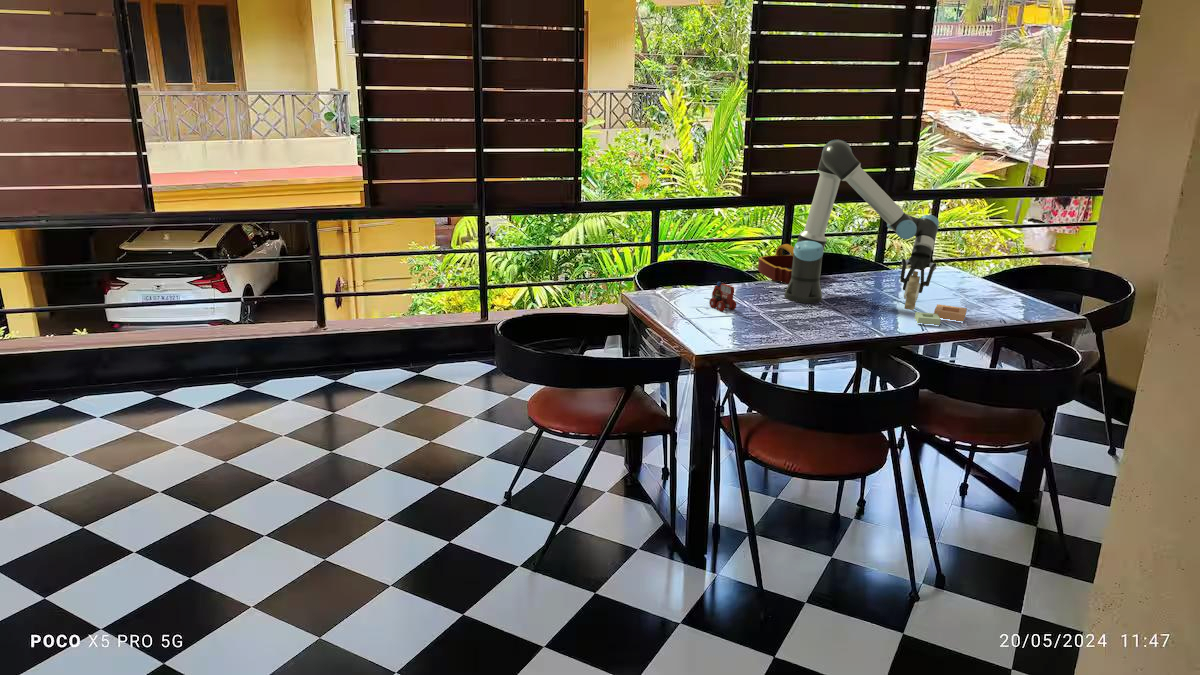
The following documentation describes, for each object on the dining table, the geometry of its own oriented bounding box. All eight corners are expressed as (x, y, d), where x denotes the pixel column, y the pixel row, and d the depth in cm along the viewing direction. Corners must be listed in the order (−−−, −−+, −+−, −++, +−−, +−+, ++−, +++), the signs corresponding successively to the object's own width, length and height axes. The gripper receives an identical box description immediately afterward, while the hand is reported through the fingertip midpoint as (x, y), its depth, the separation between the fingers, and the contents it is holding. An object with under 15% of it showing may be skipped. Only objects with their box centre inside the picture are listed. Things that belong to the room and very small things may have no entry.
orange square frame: (933, 319, 329) (934, 310, 328) (935, 312, 338) (937, 304, 337) (963, 323, 324) (964, 314, 323) (965, 316, 334) (966, 308, 333)
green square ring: (917, 325, 320) (918, 317, 319) (914, 319, 328) (915, 311, 327) (939, 327, 319) (940, 319, 318) (935, 321, 326) (937, 313, 325)
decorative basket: (750, 271, 408) (748, 241, 403) (809, 263, 409) (808, 233, 404) (770, 290, 376) (768, 257, 371) (833, 281, 377) (832, 249, 372)
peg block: (904, 308, 336) (910, 271, 331) (905, 306, 339) (911, 270, 334) (913, 310, 334) (919, 273, 329) (914, 308, 337) (921, 271, 332)
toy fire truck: (720, 303, 339) (722, 278, 336) (738, 311, 329) (740, 286, 326) (705, 305, 336) (707, 280, 333) (723, 313, 326) (726, 287, 323)
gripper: (943, 257, 340) (932, 306, 331) (901, 252, 347) (888, 299, 338) (944, 247, 334) (933, 296, 325) (901, 241, 341) (888, 289, 332)
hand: (910, 297), depth 331 cm, fingers closed on peg block, 3 cm apart
